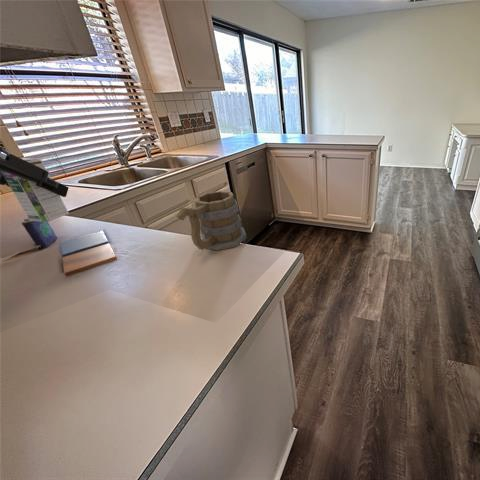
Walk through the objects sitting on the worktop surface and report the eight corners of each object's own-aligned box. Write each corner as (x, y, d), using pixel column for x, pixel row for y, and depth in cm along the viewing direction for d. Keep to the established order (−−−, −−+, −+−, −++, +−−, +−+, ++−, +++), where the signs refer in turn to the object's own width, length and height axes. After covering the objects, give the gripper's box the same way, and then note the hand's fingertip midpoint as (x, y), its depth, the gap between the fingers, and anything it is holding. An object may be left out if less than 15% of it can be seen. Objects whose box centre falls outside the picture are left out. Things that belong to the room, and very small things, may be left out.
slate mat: (61, 245, 82) (60, 242, 82) (104, 233, 89) (102, 230, 89) (63, 257, 75) (61, 254, 75) (109, 243, 82) (108, 241, 81)
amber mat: (63, 260, 74) (62, 257, 74) (110, 246, 81) (109, 243, 80) (66, 276, 67) (64, 273, 66) (117, 259, 73) (115, 256, 73)
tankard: (222, 228, 88) (211, 185, 81) (253, 233, 84) (245, 188, 77) (173, 259, 72) (155, 208, 65) (209, 267, 68) (194, 213, 61)
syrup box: (29, 221, 66) (-8, 162, 59) (55, 212, 71) (24, 157, 64) (45, 222, 64) (10, 162, 58) (70, 213, 69) (41, 157, 63)
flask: (49, 237, 88) (31, 207, 82) (60, 235, 89) (43, 205, 83) (36, 250, 80) (15, 218, 75) (48, 248, 81) (28, 216, 76)
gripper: (-22, 112, 47) (92, 178, 69) (-123, 117, 48) (21, 181, 70) (-38, 148, 45) (85, 204, 67) (-144, 153, 45) (12, 207, 68)
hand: (52, 192), depth 68 cm, fingers closed on syrup box, 6 cm apart
